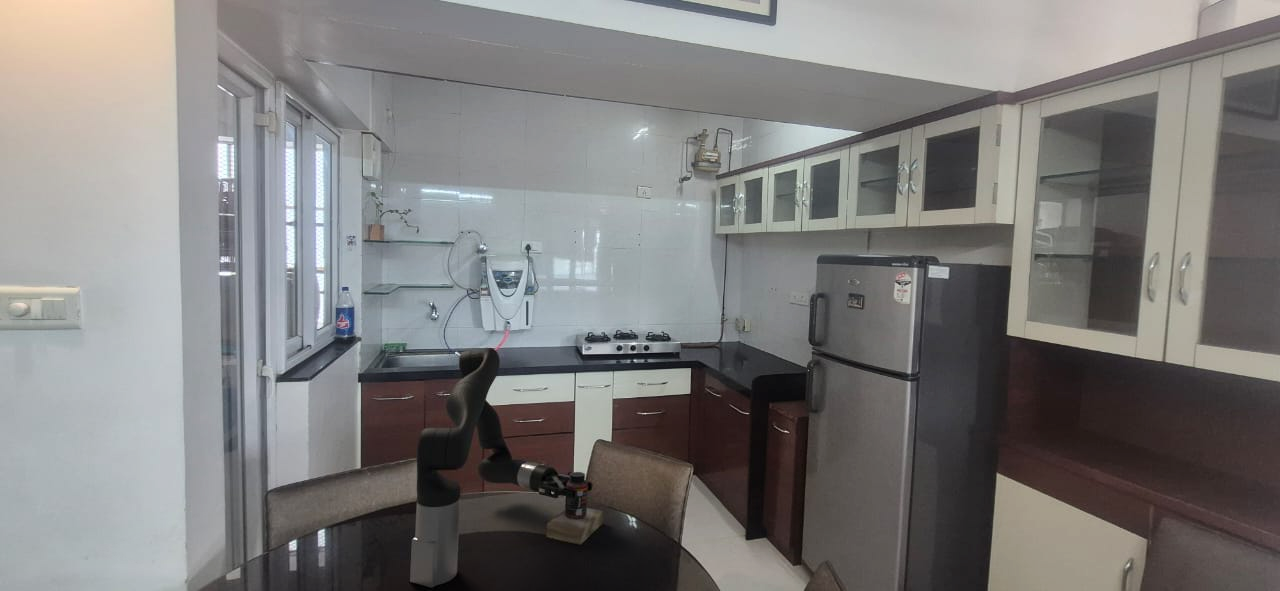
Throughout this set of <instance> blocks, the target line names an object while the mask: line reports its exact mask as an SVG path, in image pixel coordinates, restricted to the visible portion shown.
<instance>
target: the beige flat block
mask: <svg viewBox="0 0 1280 591" xmlns="http://www.w3.org/2000/svg"><path fill="white" fill-rule="evenodd" d="M603 517H604V511H603V510H600V509H595V508H590V507H587V512H586V515H585V516H584V517H583V518H579V519H573V518H569V517H567V516H566V515H565V509H564V510H563V511H561V512H560V513H559V514H558V515H556V516H554V517H553V519H551V520H550V521H549V522H547V523H546V538H548V537H549V539H552V538H553V539H554V540H558V541H561V542H566V543H571V544H574V545H579V546H581V545H582V544H583V543H585V541H586V540H587V539H588V538H589V537H590V536H592V534H593V533H594V532H595V531H596V530H597V529H598V528H599V527H601V526H602V525H603V521H604V520H603Z"/></svg>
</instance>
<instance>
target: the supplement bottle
mask: <svg viewBox="0 0 1280 591" xmlns="http://www.w3.org/2000/svg"><path fill="white" fill-rule="evenodd" d="M570 479H571V480H570V481H568V482H567V485H566V487H568V488H571V489H575V490H577V498H575V499H573V498H569V497H566V496H565V505H564V510H565V515H566V516H567V517H569V518H573V519H579V518H583V517H584V516H585V515H586V512H587V508H588V494H589V492H588V483H587V482H586V481H587V480H585V479H586V474H585V473H584V472H581V471H575V472H572V473H571V474H570Z"/></svg>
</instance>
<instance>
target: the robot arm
mask: <svg viewBox="0 0 1280 591" xmlns="http://www.w3.org/2000/svg"><path fill="white" fill-rule="evenodd" d="M458 358H459V359H458V367H459V372H460V377H461V379H460V380H459V381H457V382H456V384H455V385H454V386H453V387H452V389H451V390H450V393H449V395H448V397H447V400H446V404H445V408H446V413H447V415H448V417H449V418H450V420H451V422H452V423H453V424H454V426H455V427H426V428H424V429H422V431H421V432H420V434H419V437H418V440H417V443H416V444H417V446H416V513H415V534H414V537H413V538H412V539H411V552H410V572H409V574H410V577H409V578H410V579H409V582H411V583H414V584H418V585H421V586H425V587H428V588H430V589H431V588H434V587H436V586H438V585H442V584H445V583H446V584H447V583H449V582H450V581H452V580H453V579H454V578H455V577H456V576H457V574H458V555H459V534H460V530H459V529H460V512H461V492H462V491H461V486H460V484H459V483H458V482H456V481H454V480H452V479H450V478H448V477H445V476H443V475H442V474H441V473H439V471H457V470H460V469H462V468H463V467H465V464H466V463H467V461H468V458H469V455H470V450H471V448H472V447H471V446H472V442H473V438H474V433H475V429H476V434H477V437H478V442H479V446H480V448H481V449H483V450H491V451H492V454H490V455H489V456H487V457H485V458H483V459H482V460H481V461H480V462H479V463H478V466H477V473H478V476H479V477H480V479H482V480H483V481H485V482H487V483H490V484H512V485H514V486H519V487H522V488H524V489H525V490H529V491H532V492H535V493H537V494H539V495H540V496H544V497H549V498H553V499H558V498H559V497H560V498H562V497H563V498H564V497H565V498H566V497H569V498H573V499H575V498H577V490H575V489H571V488H568V487H566V485H567V482H568V481H570V480H571V479H570V474H571V473H573V472H572V471H568V472H567V475H566V474H563V473H561V474H560V473H558V472H557V470H556V468H555V467H553V466H549V465H545V464H541V463H538V462H533V461H531V462H530V461H527V460H523V459H517V458H515V459H513V456H512V454H511V452H510V449H509V448H508V446H507V443H506V442H505V439H504V437H503V430H502V426H501V425H502V424H501V420H500V417H499V414H498V412H497V411H496V410H495V408H494V407H493V406H492V405H491V404H490V403H489V402H488V401H487V396H488V394H489V391H490V389H491V387H492V384H493V383H494V382H495V379H496V377H497V376H498V374H499V370H500V365H501V364H500V362H501V360H500V356H499V353H498V351H497V350H495V349H494V348H492V347H483V348H476V349H475V348H474V349H470V350H466V351H462V352H461V353H460V355H459V357H458ZM585 481H586V482H587V483H588V491H589V492H590V491H592V490H593V485H594V483H593V482H591V481H588V480H585Z"/></svg>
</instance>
